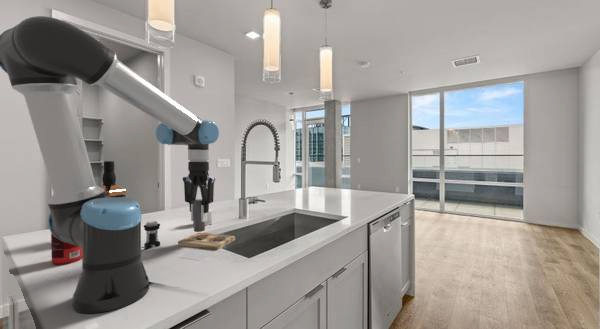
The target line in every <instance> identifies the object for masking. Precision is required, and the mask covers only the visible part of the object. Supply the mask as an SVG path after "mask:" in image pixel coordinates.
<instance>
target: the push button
mask: <svg viewBox="0 0 600 329" xmlns="http://www.w3.org/2000/svg"><path fill="white" fill-rule="evenodd" d="M160 226H161V223H158V221H156V220H153V221H151V220H150V221H147V222H146V224H144V225H143V228H144V231H146V233H145V234H146V239H145V243H144V244H143V245H144V246H141V252H142V251H147V250H149V249H155V248H158V247H161V241H159V238H158V235H159V234H158V233H159V232H158V230H160Z"/></svg>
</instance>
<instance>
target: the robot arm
mask: <svg viewBox="0 0 600 329" xmlns="http://www.w3.org/2000/svg"><path fill="white" fill-rule="evenodd" d="M0 69H2V71H4V72H5V73H6V74H7V76H8V79H9V82H10V85H11V88H12V89H13V90H15V91H16V92H18V93H20V94H21V95H22V96H23V97H24V100H25V103H26V106H27V109H28V113H29V117H30V120H31V124H32V126H33V130H34V134H35V137H36V141H37V144H38V147H39V150H40V153H41V156H42V160H43V163H44V166H45V170H46V172H47V173H46V174H47V176H48V180H49V184H50V187H51V189H52V192H53V194H52V195H51V196H50V198H49V199H48V200H47V204H48V205H47V206H48V208H49V211H50V212H49V214H48V217H47V226H48V230H49V231H50V233H52V234H53V235H54V236H55V237H56V238H58V239H59V240H61V241H63V242H65V243H69V244H73V245H76V246H79V247H82V259H81V260H82V263H81V265H82V266H81V267H82V268H81V272H80V273H81V274H80V276H79V279H78V281H77V284H76V288H75V290H74V292H73V295H72V308H73V310H74V311H75V312H78V313H81V314H99V313H105V312H111V311H114V310H118V309H120V308H123V307H126V306H129V305H131V304H134V303H135V302H137V301H139V300H140V299H142V298H143V297H144V296H145V295H147V293H148V291H149V289H150V279H149V276H148V275H147V271H146V269H145V266H144V264H143V262H142V251H141V250H142V248H141V247H142V236H141V235H142V212H141V206H140V204H139V203H138V201H137V200H134V199H132V198H131V199H130V198H126V197H125V198H117V197H109V198H106V194H105V190H104V189H103V188H101V187H100V186H98V185H97V184H96V181H95V177H94V173H93V169H92V164H91V161H90V157H89V154H88V151H87V146H86V142H85V139H84V134H83V131H82V127H81V123H80V120H79V119H80V118H79V116H78V112H77V111H78V110H77V108H76V104H75V101H74V97H73V94H74V92H75V91H76V90H77V89H78V86H79V85H78V82H77V79H78V80H80V81H83V82H84V83H85V84H87V85H89V86H94V85H95V86H99V87H101V88H103V89H105V91H106V90H107V91H108V92H110V93H111V94H113V95H115V96H116V97H118V98H119V99H120V100H123V101H125V102H126V103H128V104H129V105H131V106H133V107H135V108H137V109H138V110H140V111H141V112H143V113H145V114H146V115H148V116H150V117H152V118H153V119H155V120H156V121H158V122H159V124H158V125H157V127H156V130H155V137H156V140H157V141H158V142H159V143H160V144H162V145H168V146H169V145H170V146H171V145H172V146H187V160H188V164H187V165H188V166H187V170H188V172H189V173H188V175H187V176H183V177H182V181H183V187H184V188H183V190H184V191H183V192H184V202H186V203H187V204H189V212H190V221H191V222H193V221H194V200H196V199H197V194H198V188H199V190H200V195H201V199H202V201H203V204H202V205H201V222H204V221H207V213H208V212H209V210H210V208H209V207H210V204H212V203H214V195H215V194H214V191H215V186H214V185H215V182H216V178H215V177H212V176H210V173H209V171H210V162H209V161H210V160H209V159H210V156H209V153H210V152H209V144H212V145H213V144H214V143H216V142H217V141H218V139H219V135H220V129H219V127H218V125H217V123H215V122H214V121H212V120H207V119H205V120H203V119H201V118H200V117H198V116H197V115H195V114H194V113H193V112H191V111H190V110H188V109H187V108H186V107H184V106H183V105H181V104H180V103H178V102H177V101H176V100H174V99H173V98H172V97H170V96H169V95H168V94H166V93H165V92H164V91H161V89H159V88H158V87H156V86H155V85H154V84H152V83H151V82H149V81H148V80H147V79H146V78H144V77H142V76H141V75H140V74H138V73H137V72H135V71H134V70H133V69H131V68H130V67H128V66H127V65H125V64H124V63H123V62H121V61H120V60H119V59H118V56H117V52H115V51H113V50H112V49H111V48H110V47H108V46H107V45H105V44H104V43H103V42H101V41H100V40H98V39H97V38H95V37H94V36H92V35H91V34H89V33H88V32H86V31H84V30H83V29H81V28H79V27H77V26H75V25H73V24H72V23H69V22H67V21H65V20H62V19H58V18H55V17H50V16H44V15H41V16H40V15H39V16H38V15H37V16H36V15H35V16H30V17H28V18H25V19H24V20H22V21H21V22H19V23H18V24H16V25H15V26H13V27H11V28H9V29H6V30H4V31H3V32H2V33H0ZM208 160H209V161H208Z"/></svg>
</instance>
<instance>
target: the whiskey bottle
mask: <svg viewBox="0 0 600 329" xmlns="http://www.w3.org/2000/svg"><path fill="white" fill-rule="evenodd" d="M116 182H117V177H116V173H115V161H113V160H105V161H103V174H102V185H101V186H99V187H101V188H103V189H104V190H105V194H106V198H109V197H117V198H126V194H127V189H126V188H124V187H123V186H120V185H118V184H116Z"/></svg>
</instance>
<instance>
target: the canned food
mask: <svg viewBox="0 0 600 329" xmlns="http://www.w3.org/2000/svg"><path fill="white" fill-rule="evenodd" d="M50 233H51V232H50ZM50 238H51V239H50V240H51V241H50V242H51V244H50V245H51V247H50V248H51V263H52V265H55V266H64V265H70V264H74V263H77V262H79V261H81V260H82V247H79V246H76V245H73V244H69V243H65V242H63V241H61V240H59V239H58V238H56V237H55V236H54V235H53V234H52V233H51V234H50Z"/></svg>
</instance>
